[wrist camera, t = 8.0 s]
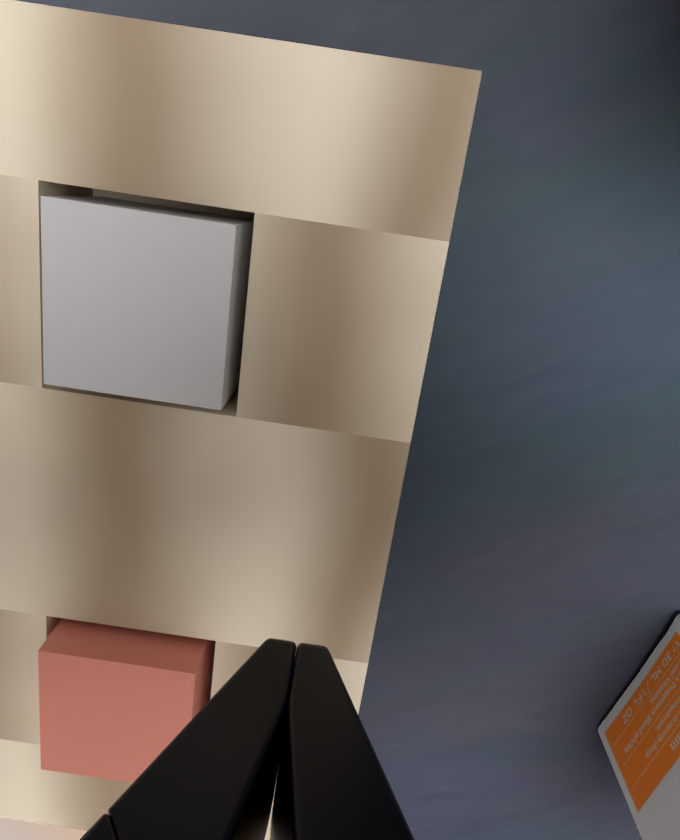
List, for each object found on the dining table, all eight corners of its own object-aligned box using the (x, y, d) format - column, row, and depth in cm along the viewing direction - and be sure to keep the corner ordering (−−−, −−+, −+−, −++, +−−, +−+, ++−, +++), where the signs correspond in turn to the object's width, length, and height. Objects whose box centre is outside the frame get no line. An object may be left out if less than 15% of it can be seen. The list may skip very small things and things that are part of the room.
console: (457, 100, 17) (482, 71, 13) (335, 765, 25) (329, 866, 21) (-56, 22, 17) (-178, -29, 13) (-15, 714, 25) (-83, 805, 21)
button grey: (261, 220, 17) (236, 225, 14) (247, 373, 19) (220, 410, 15) (103, 196, 17) (40, 195, 14) (101, 351, 19) (43, 383, 15)
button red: (223, 598, 21) (195, 674, 17) (213, 703, 22) (185, 790, 19) (90, 578, 21) (38, 650, 17) (90, 684, 22) (40, 769, 19)
